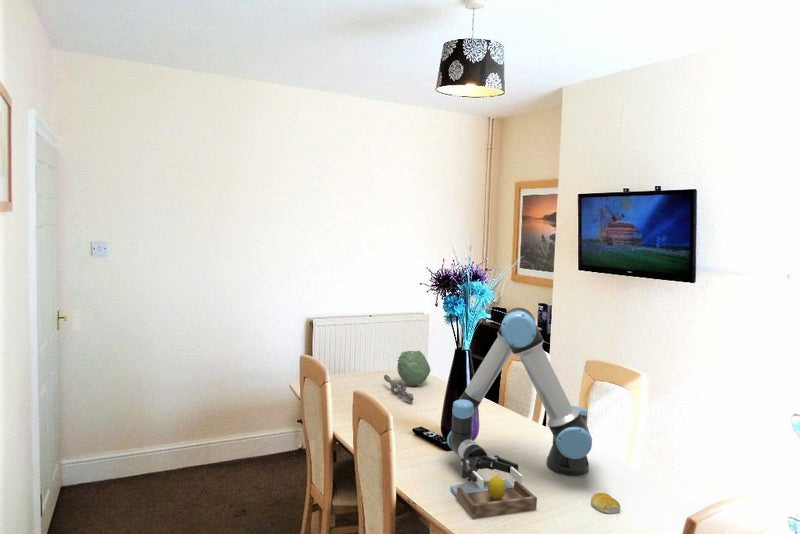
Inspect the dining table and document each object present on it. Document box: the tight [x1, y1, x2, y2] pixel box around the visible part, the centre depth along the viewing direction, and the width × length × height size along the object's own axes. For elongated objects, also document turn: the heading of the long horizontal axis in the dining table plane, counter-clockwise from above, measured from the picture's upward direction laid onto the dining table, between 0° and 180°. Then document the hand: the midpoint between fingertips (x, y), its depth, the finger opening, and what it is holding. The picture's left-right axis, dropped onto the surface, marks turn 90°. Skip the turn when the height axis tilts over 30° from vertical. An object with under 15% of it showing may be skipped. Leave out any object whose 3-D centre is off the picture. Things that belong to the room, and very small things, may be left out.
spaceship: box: [383, 374, 415, 403], centre depth 283 cm, size 8×35×8 cm
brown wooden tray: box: [456, 480, 538, 520], centre depth 171 cm, size 22×12×4 cm, turn 108°
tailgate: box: [449, 479, 514, 497], centre depth 180 cm, size 21×1×6 cm
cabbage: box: [396, 350, 431, 387], centre depth 302 cm, size 16×19×20 cm
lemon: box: [488, 474, 506, 500], centre depth 171 cm, size 6×6×8 cm
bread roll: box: [590, 492, 621, 515], centre depth 173 cm, size 8×9×4 cm
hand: (502, 482), depth 168 cm, fingers open, 13 cm apart
